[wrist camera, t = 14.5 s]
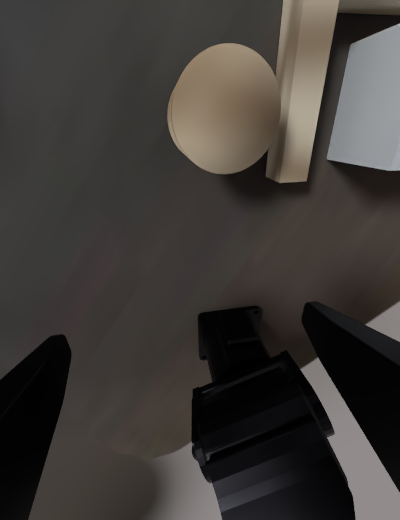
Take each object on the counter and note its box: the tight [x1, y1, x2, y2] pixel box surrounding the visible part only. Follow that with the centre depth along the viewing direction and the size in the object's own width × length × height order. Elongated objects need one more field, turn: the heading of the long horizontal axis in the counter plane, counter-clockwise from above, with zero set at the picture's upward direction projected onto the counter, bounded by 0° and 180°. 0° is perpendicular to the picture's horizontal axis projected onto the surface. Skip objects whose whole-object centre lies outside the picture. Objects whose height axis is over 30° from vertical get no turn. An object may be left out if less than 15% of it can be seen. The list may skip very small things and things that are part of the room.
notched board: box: [265, 0, 400, 183], centre depth 16 cm, size 14×14×2 cm
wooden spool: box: [167, 43, 281, 174], centre depth 14 cm, size 6×6×5 cm
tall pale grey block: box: [327, 23, 400, 171], centre depth 15 cm, size 7×4×6 cm, turn 1°
